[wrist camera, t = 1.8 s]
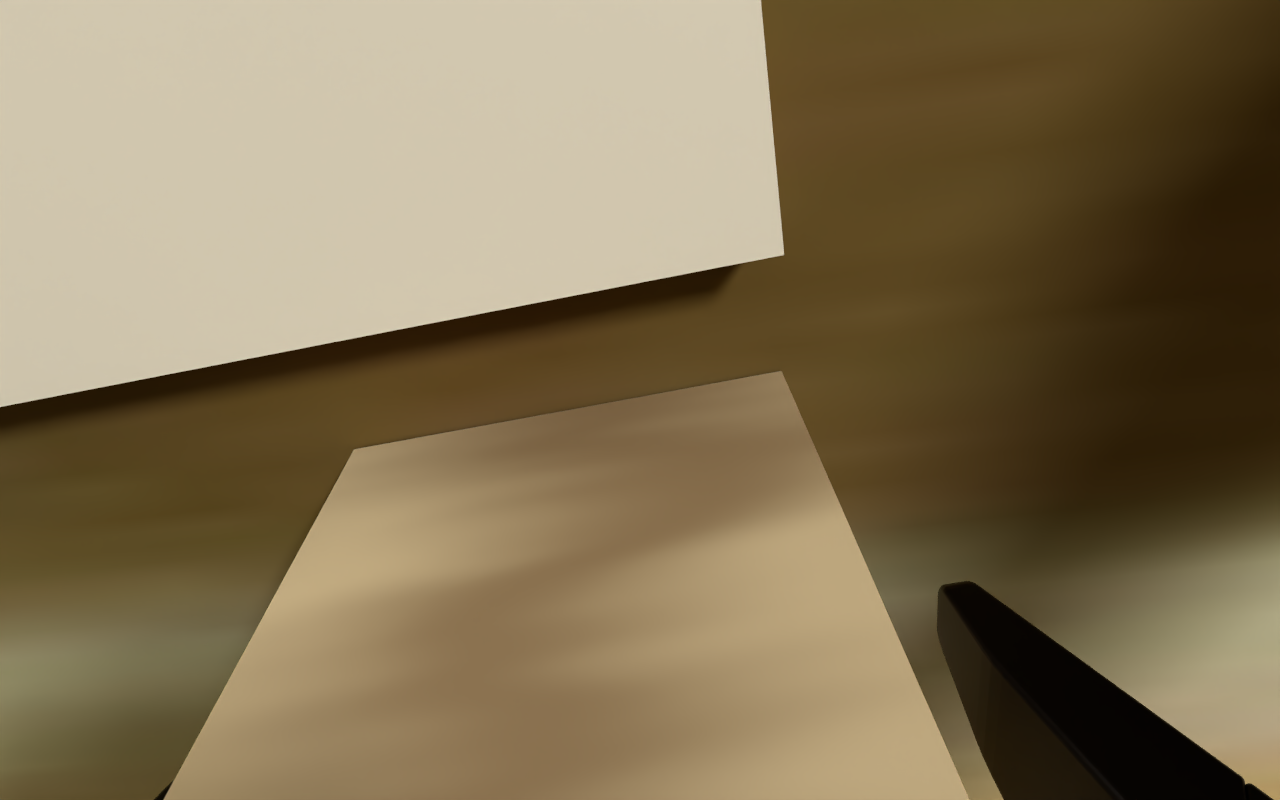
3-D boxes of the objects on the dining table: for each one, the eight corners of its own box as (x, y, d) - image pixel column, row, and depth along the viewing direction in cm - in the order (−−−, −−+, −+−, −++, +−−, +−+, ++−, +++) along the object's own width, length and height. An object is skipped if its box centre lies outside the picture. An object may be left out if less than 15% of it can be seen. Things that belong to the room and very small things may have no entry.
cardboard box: (781, 370, 10) (1091, 1076, 3) (812, 665, 13) (1006, 1325, 6) (354, 449, 10) (-62, 1212, 4) (482, 716, 13) (366, 1388, 7)
